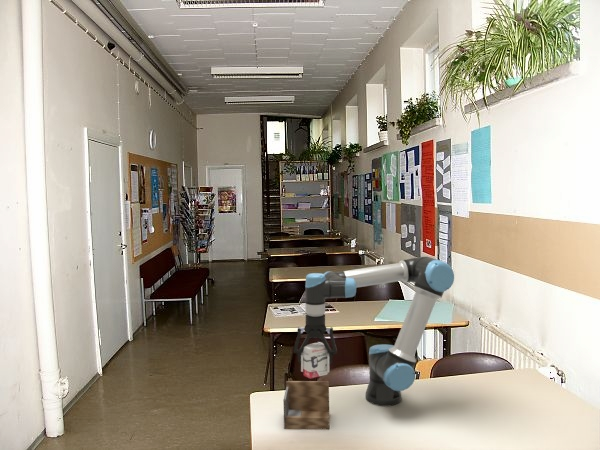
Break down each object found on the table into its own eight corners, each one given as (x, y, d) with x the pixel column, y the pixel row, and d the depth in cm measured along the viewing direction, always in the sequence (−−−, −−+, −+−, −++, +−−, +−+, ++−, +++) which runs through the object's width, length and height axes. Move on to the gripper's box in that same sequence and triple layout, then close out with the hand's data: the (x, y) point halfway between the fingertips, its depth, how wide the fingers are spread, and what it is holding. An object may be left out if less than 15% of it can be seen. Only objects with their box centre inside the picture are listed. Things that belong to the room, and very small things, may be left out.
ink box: (310, 379, 192) (309, 348, 191) (302, 375, 196) (302, 345, 195) (328, 374, 197) (327, 344, 196) (320, 370, 201) (320, 341, 200)
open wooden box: (329, 413, 204) (328, 381, 203) (329, 429, 191) (328, 394, 190) (287, 413, 205) (286, 381, 204) (284, 428, 192) (283, 394, 191)
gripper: (343, 311, 198) (343, 368, 199) (287, 311, 199) (287, 366, 201) (344, 316, 190) (344, 375, 192) (285, 316, 192) (286, 373, 193)
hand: (315, 370), depth 196 cm, fingers closed on ink box, 9 cm apart
